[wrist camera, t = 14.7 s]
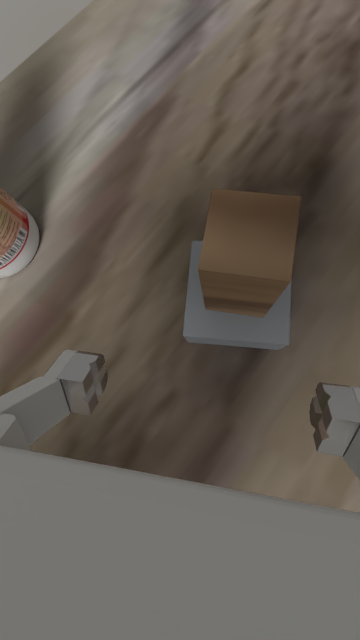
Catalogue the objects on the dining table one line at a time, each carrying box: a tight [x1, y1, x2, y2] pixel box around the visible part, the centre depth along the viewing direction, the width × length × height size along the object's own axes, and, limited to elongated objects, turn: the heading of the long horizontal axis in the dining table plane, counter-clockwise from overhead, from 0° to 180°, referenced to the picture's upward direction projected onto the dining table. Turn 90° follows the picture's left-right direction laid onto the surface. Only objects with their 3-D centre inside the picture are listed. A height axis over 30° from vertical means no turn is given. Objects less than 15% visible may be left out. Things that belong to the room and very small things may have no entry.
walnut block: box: [198, 189, 301, 318], centre depth 21 cm, size 5×5×10 cm
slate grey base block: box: [183, 241, 292, 350], centre depth 29 cm, size 9×9×5 cm
